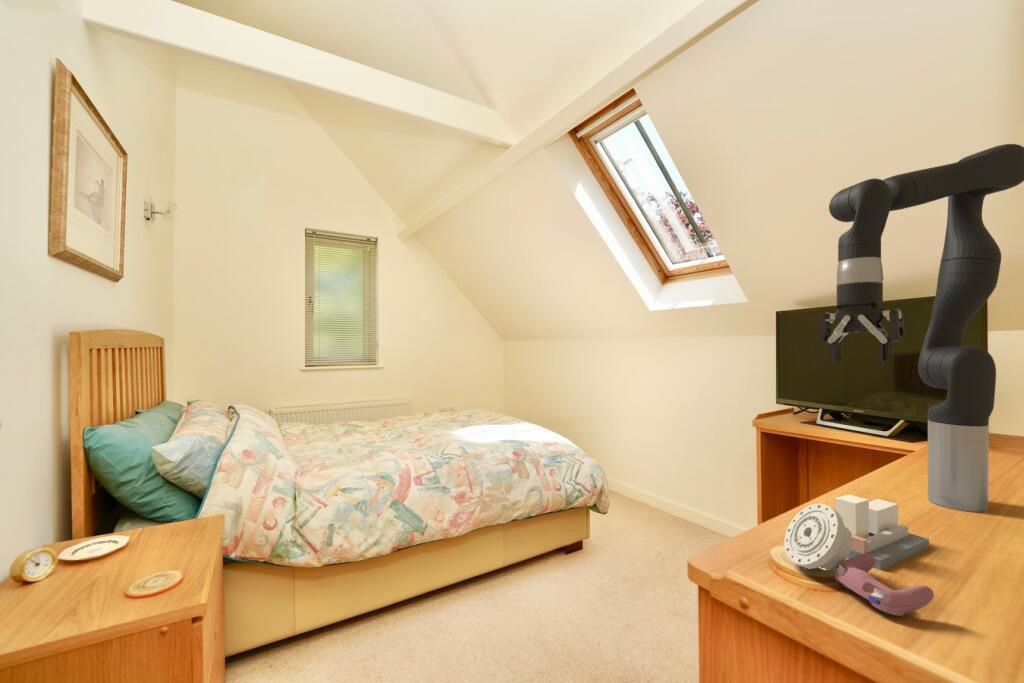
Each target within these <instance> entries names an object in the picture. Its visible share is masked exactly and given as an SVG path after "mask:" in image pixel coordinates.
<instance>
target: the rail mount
mask: <svg viewBox="0 0 1024 683" xmlns="http://www.w3.org/2000/svg"><path fill="white" fill-rule="evenodd" d="M869 501H870V500H869V499H868V498H864V497H861V496H860V497H859V496H856V495H853V494H845V495H842V496H838V497H835V500H834V504H835V505H834V509H835V510H836V511H837V512H838V513H839V514H840V516H841V517H842V519H843V523H844V526H845V527H846V528H848V529H849V531H850V532H851V533H852V537H853V538H854V540H853V541H852V548H851V549H853V552H852V553H850V554H849V555H848V557H847V559H851V558H853V557H855V556H857V555H860V554H870V555H872V556H873V557H874V558H875V560H876V563H875V565H874V567H873V568H874V569H877V570H879V571H882V570H885V569H886V568H889V567H890V566H893V565H894V564H897V563H899V562H901V561H904V560H905V559H908V558H911V557H912V556H915V554H918V553H920V552H922V551H925V550H927V549H929V548H930V538H926V537H924V536H920V535H916V534H914V533H910V532H909V526H906V525H902V524H898V526H897V527H894V528H892V529H889V530H886V531H884V532H881V533H878V534H876V535H873V536H871V535H869ZM873 568H872V569H873Z"/></svg>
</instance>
